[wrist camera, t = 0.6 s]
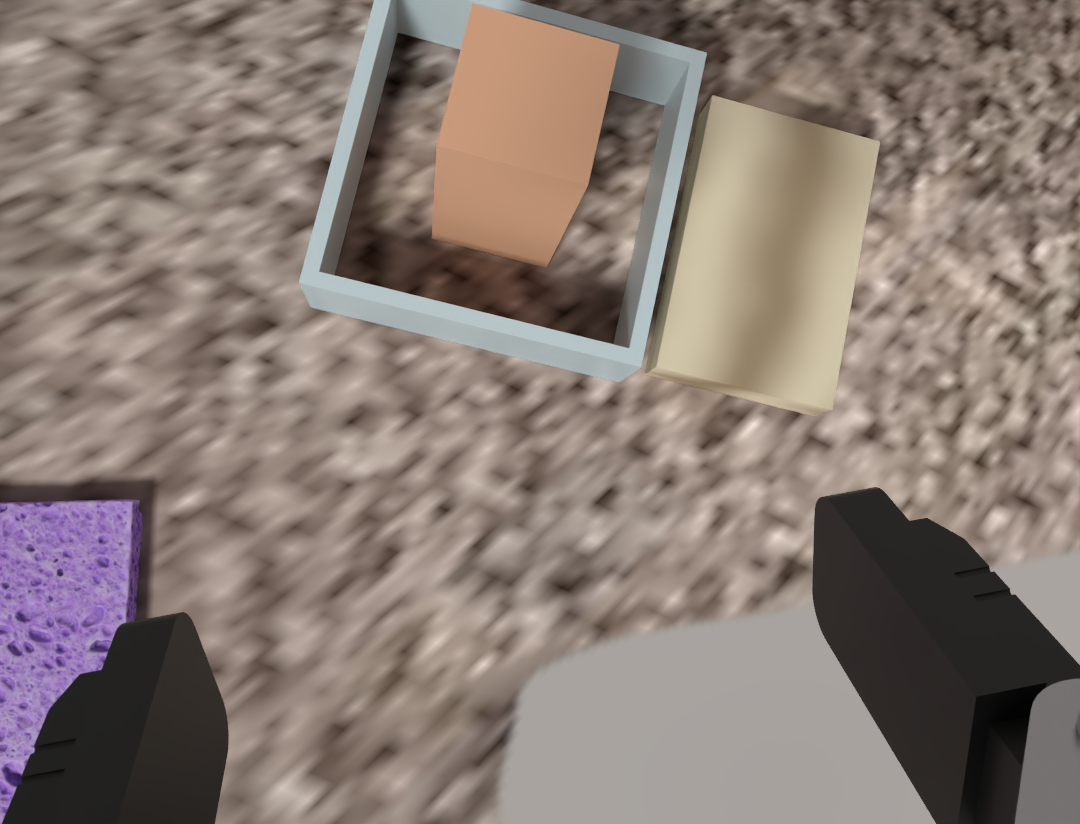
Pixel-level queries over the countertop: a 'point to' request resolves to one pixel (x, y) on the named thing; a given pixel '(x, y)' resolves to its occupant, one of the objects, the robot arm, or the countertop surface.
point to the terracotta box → (519, 134)
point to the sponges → (58, 608)
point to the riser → (764, 258)
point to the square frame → (641, 72)
